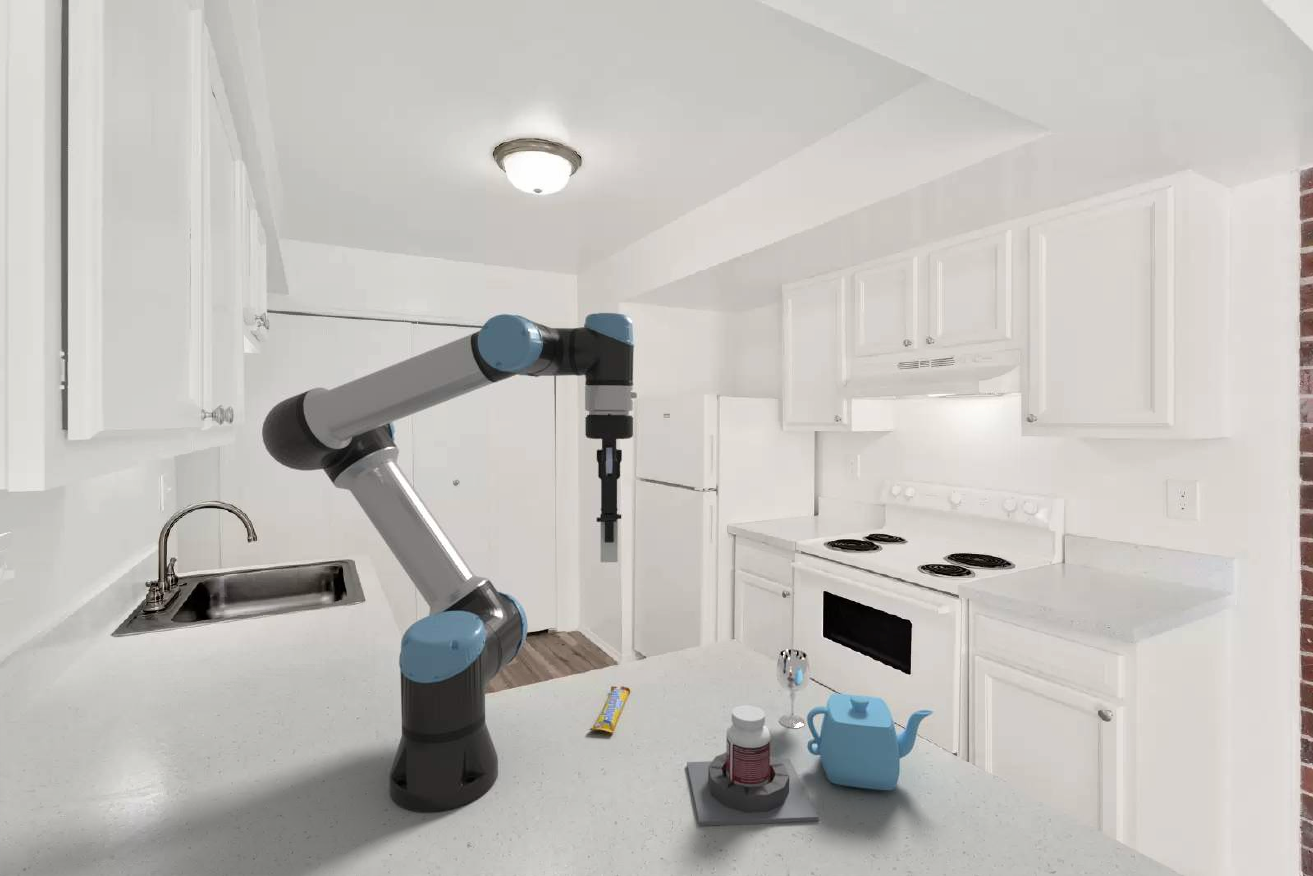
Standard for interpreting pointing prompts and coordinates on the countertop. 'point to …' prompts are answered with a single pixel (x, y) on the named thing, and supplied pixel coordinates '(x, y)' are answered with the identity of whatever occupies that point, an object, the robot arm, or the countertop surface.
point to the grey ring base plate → (748, 795)
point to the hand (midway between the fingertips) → (609, 561)
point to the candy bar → (612, 710)
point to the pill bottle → (748, 748)
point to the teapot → (861, 741)
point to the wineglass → (792, 680)
